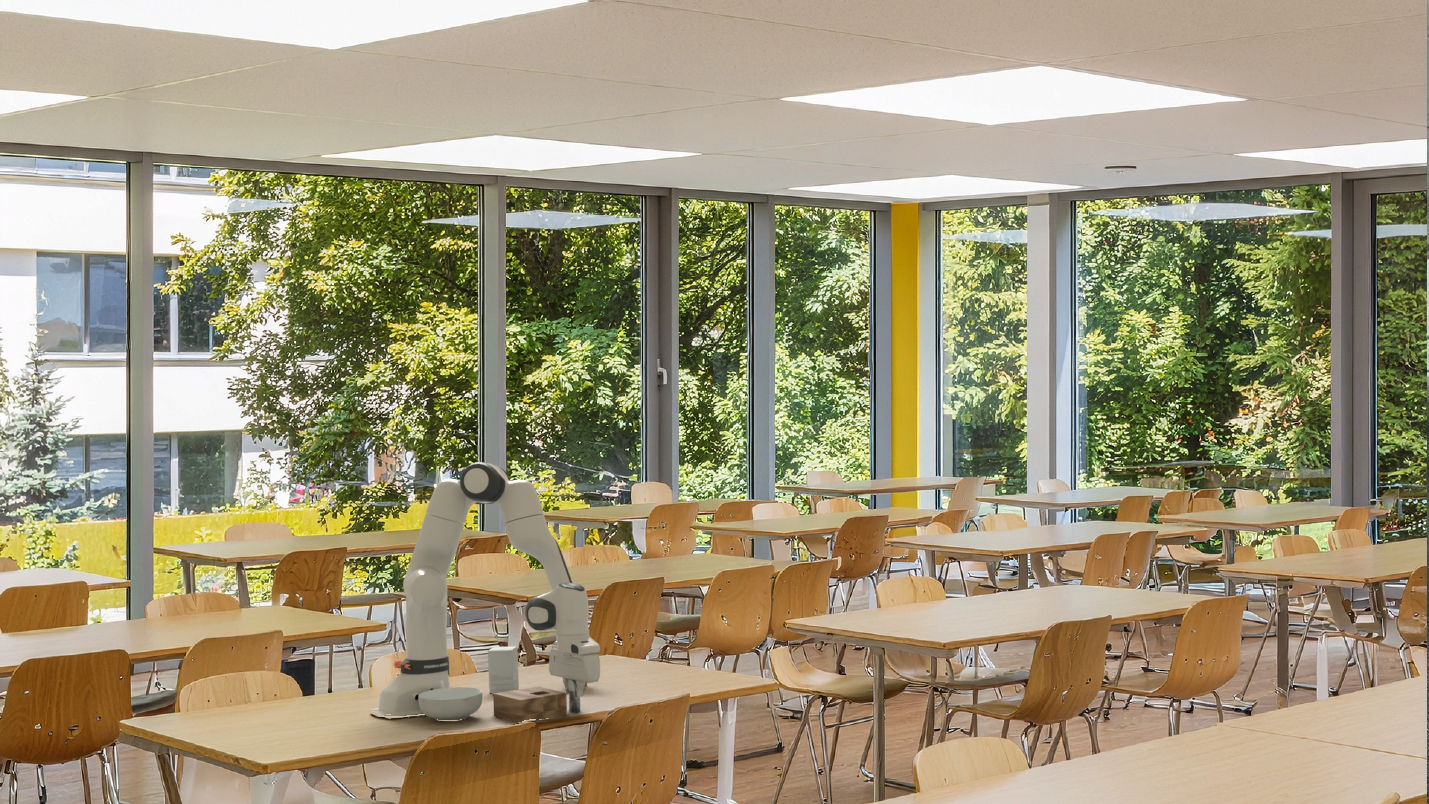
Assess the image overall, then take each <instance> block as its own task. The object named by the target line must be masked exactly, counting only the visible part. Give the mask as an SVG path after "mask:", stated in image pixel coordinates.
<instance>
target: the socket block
mask: <svg viewBox="0 0 1429 804" xmlns="http://www.w3.org/2000/svg"><path fill="white" fill-rule="evenodd" d="M492 696H493V700H492V701H493V717H495V716H497V717H496V718H499V719H503V720H506V721H510V722H515V723H517V722H522V721H524V720H529V719H536V720H539V719H545V720H547V719H546V718H551V719H554V718H553V717H557V718H561V717H560V716H563V717H567V716H568V703H567V701H568V700H567V698H568V697H567V694H566V692H563V691H560V690H555V689H551V688H546V687H542V686H534V687H528V688H521V689H518V690H513V691H507V692H500V693H493V694H492ZM539 721H540V720H539Z"/></svg>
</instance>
